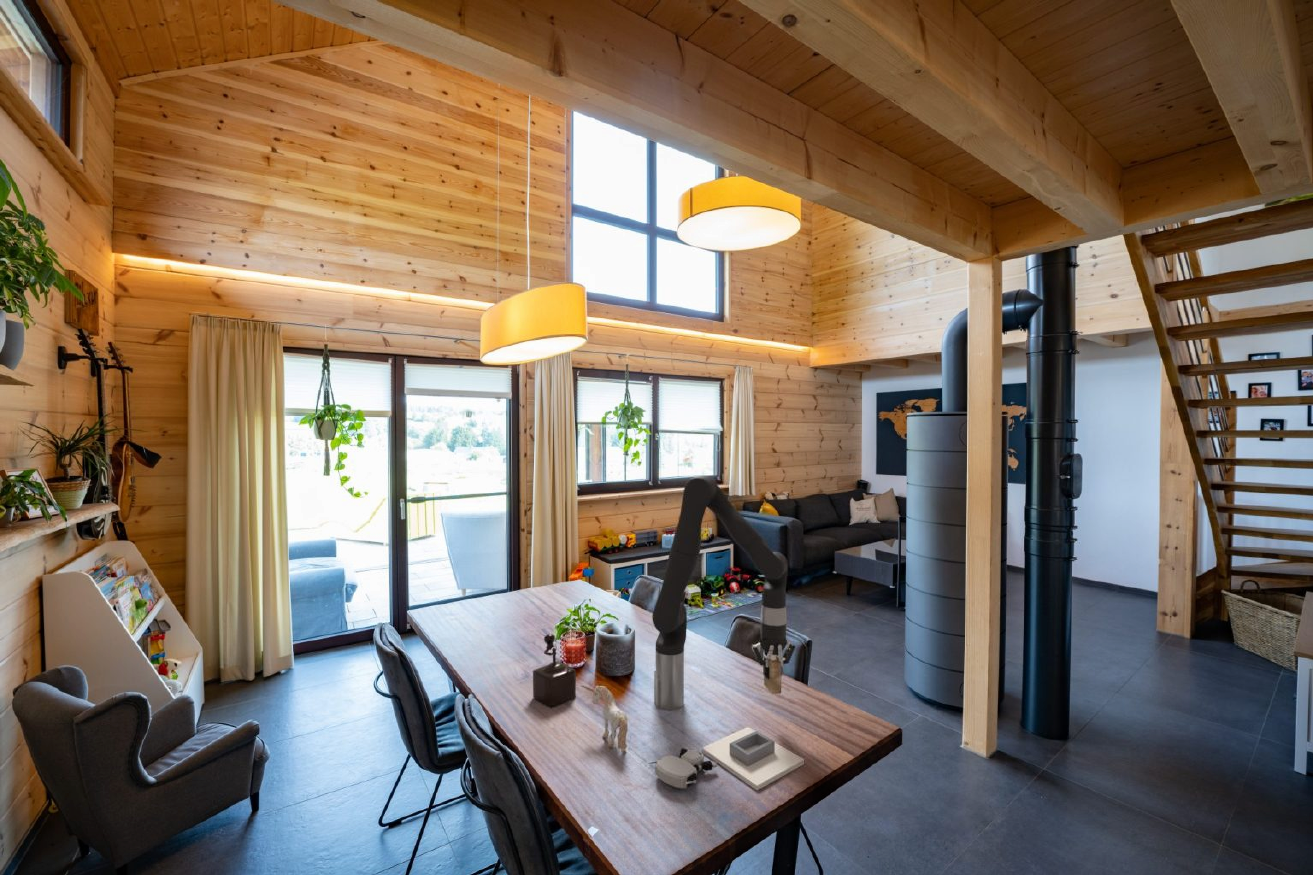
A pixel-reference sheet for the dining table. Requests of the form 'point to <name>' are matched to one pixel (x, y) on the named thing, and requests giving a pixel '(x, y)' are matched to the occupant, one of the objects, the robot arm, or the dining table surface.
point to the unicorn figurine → (611, 716)
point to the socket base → (753, 757)
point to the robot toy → (682, 768)
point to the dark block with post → (554, 680)
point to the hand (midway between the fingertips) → (772, 677)
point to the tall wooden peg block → (774, 676)
